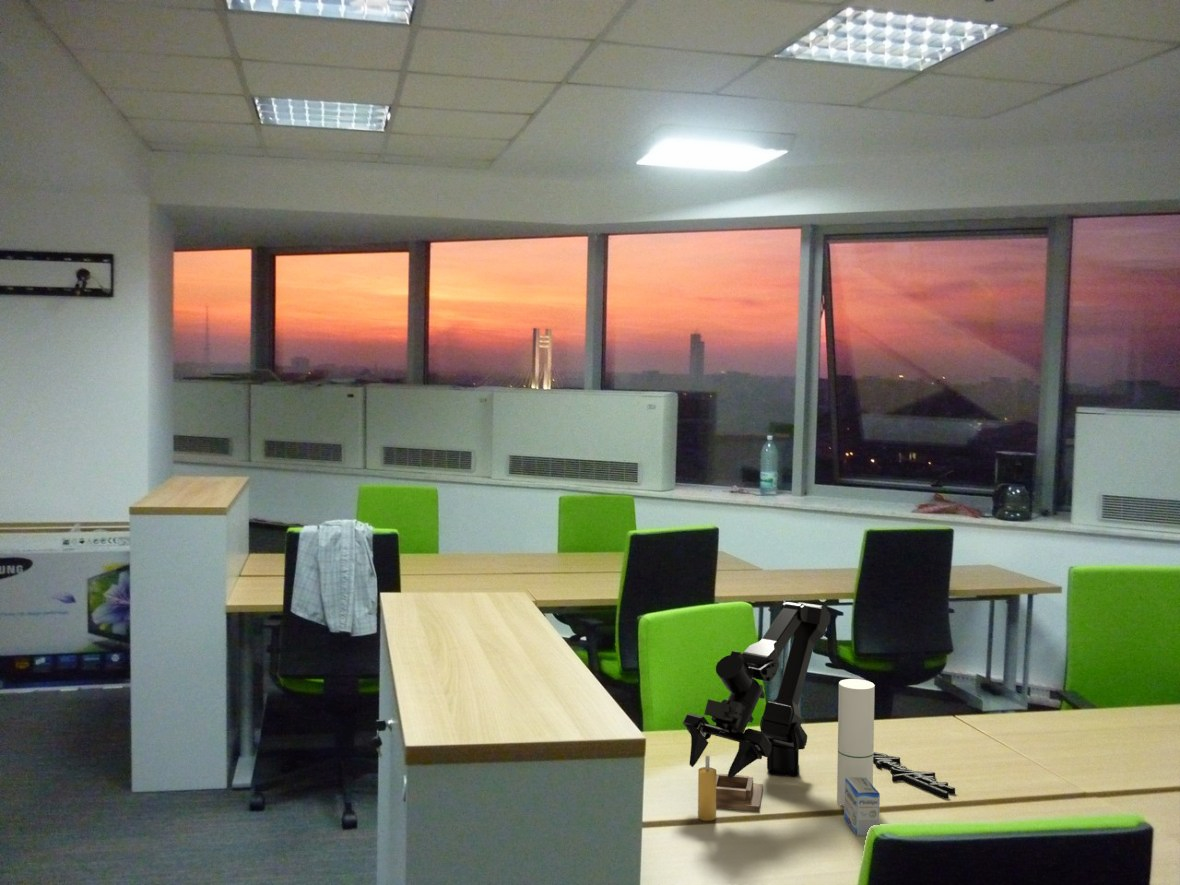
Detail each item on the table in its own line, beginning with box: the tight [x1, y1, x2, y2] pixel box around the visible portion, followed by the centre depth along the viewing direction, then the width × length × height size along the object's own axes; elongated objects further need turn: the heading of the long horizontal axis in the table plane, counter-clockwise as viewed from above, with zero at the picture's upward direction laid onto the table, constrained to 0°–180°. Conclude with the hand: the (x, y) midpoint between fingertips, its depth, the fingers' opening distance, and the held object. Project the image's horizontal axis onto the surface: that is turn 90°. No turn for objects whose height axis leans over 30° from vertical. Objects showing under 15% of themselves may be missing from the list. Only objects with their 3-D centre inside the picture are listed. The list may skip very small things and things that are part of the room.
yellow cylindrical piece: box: [697, 754, 717, 822], centre depth 208 cm, size 4×4×12 cm
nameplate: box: [873, 751, 956, 800], centre depth 230 cm, size 27×2×10 cm
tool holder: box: [716, 773, 764, 812], centre depth 218 cm, size 12×12×3 cm
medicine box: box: [843, 777, 881, 837], centre depth 203 cm, size 8×4×9 cm, turn 5°
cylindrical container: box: [836, 678, 876, 807], centre depth 214 cm, size 7×7×25 cm
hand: (709, 771), depth 208 cm, fingers open, 9 cm apart
